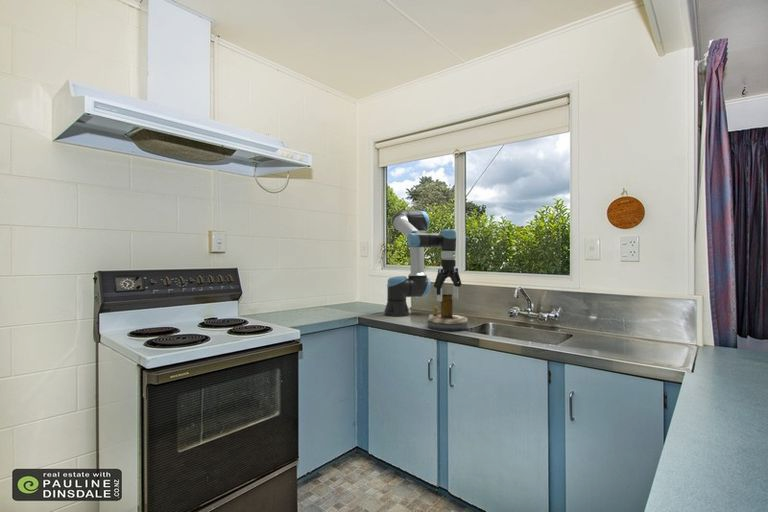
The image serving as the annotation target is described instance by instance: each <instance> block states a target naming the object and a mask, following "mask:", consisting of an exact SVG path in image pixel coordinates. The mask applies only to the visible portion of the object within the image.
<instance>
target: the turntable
mask: <svg viewBox="0 0 768 512" xmlns="http://www.w3.org/2000/svg"><path fill="white" fill-rule="evenodd" d="M438 307H439V306H438V305H433V307H432V314H431V315H432V316H428V320H429V321H430V322H433V323H438V324H463V323H467V321H468V320H469V319H468V317H466V316H464V315H457V314H456V315H455V314H453V315H452V316H457V318H440V316H441V314H439V310H438V309H439V308H438Z"/></svg>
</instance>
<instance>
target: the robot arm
mask: <svg viewBox="0 0 768 512" xmlns="http://www.w3.org/2000/svg"><path fill="white" fill-rule="evenodd" d="M391 225H392V227H393V228H394V229H395V230H397V231H398V232H400V233H401V234H402V235H403V236H404V237H405V238H406V244H407V246H408V247H409V250H410V254H409V255H410V257H409V258H410V259H409V260H410V261H409V262H410V273H409V274H408V276H406V275H399V276H392V277H389V278H388V279H387V285H386V287H387V292H386V293H387V294H386V295H387V296H386V297H387V298H386V299H387V302H386V305H385V308H384V311H383V312H384V315H386V316H388V317H406V316H409V315H410V310H409V307H408V302H407V298H421V297H422V298H423V297H427V296H428V294H429V293H430V289H431V280H430V278H428V276H427V274H426V273H425V248H440V249H441V252H440V258H441V260H440V266H441V267H442V268H438V270H437V274H436V278H435V281H434V284H433V288H435V289H436V302H441V301H442V294H443V288H442V287H443V285H444V284H445V281H446V279H447V278H450V280H451V282H452V283H453V285H454V286H453V288H452V293H453V294H452V300H453V299H454V300H459V292H460V290H459V287H461V285H462V280H461V277H460V274H459V268H458V267H456V266H457V265H456V264H457V262H456V258H457V257H456V256H457V254H456V253H457V252H456V251H457V231H456V229H454V228H453V229H451V228H450V229H442V230H441V233H429V232H428V233H427V230H428V229H429V227H430V217H429V215H428V213H427V212H426V211H425V210H424V211H423V210H404V209H403V210H399V211H396V212H395V213H394V214H393V215H392V217H391ZM407 277H408V278H407Z"/></svg>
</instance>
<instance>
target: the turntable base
mask: <svg viewBox="0 0 768 512" xmlns="http://www.w3.org/2000/svg"><path fill="white" fill-rule="evenodd" d="M432 315H433V314H429V316H432ZM429 316H428V317H429ZM427 328H429V329H431V330H436V331H439V332H440V331H442V332H461V331H466V330H468V329H469V321H468V320H467V323H463V324H438V323H433V322H430V321H429V319H428V320H427Z"/></svg>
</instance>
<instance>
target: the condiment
mask: <svg viewBox="0 0 768 512" xmlns="http://www.w3.org/2000/svg"><path fill="white" fill-rule="evenodd" d="M453 303H454V302H453V294H452V293H442V301H440V315H441V316H440V318H457V316H452V315H454V314H453V309H454V308H453V307H454V305H453Z"/></svg>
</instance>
